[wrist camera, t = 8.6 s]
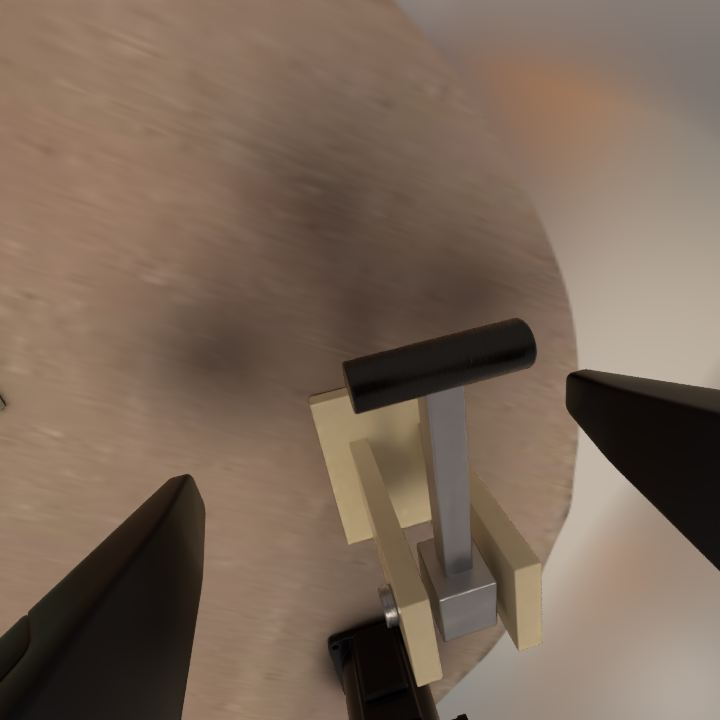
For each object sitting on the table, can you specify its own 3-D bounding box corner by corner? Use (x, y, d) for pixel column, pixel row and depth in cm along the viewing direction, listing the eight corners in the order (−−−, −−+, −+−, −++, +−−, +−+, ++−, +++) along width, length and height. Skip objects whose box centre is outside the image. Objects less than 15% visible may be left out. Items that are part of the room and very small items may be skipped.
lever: (335, 345, 11) (352, 389, 9) (500, 304, 12) (550, 336, 10) (391, 594, 17) (409, 655, 15) (499, 559, 18) (531, 613, 16)
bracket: (308, 396, 22) (336, 562, 12) (448, 360, 22) (585, 485, 13) (345, 533, 26) (390, 742, 16) (463, 497, 26) (576, 674, 17)
